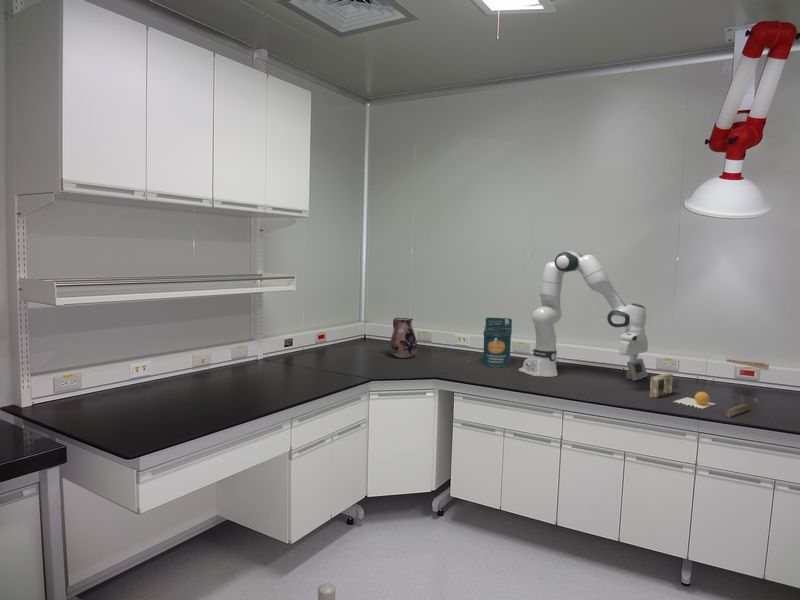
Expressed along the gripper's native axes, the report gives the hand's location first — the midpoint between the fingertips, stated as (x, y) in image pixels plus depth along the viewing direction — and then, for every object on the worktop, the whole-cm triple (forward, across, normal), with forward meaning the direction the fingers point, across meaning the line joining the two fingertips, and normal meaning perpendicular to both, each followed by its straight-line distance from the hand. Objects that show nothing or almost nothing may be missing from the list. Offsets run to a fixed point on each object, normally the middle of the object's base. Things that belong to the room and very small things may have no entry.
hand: (633, 362), depth 270 cm
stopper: (+13, 0, +50) cm, 51 cm away
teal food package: (+15, +20, -76) cm, 80 cm away
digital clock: (+14, -22, -10) cm, 28 cm away
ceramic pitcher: (+17, +55, -127) cm, 140 cm away
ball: (+10, 0, +35) cm, 36 cm away
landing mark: (+13, 0, +32) cm, 34 cm away
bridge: (+13, 0, +16) cm, 21 cm away
